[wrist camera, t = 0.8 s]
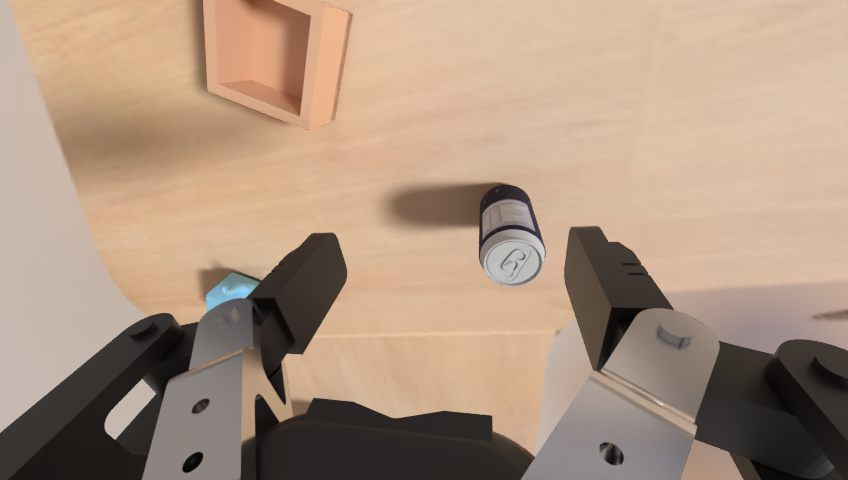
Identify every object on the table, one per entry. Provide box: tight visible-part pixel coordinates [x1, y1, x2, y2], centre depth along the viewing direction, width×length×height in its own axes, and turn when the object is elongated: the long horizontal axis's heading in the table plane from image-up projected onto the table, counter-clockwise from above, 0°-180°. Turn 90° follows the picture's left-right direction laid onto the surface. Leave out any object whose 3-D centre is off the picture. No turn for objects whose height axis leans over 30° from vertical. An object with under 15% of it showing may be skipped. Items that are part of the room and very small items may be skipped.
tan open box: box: [203, 0, 353, 131], centre depth 29 cm, size 10×10×6 cm
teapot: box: [206, 272, 260, 312], centre depth 48 cm, size 12×6×8 cm, turn 161°
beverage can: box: [479, 185, 546, 287], centre depth 31 cm, size 6×6×12 cm
